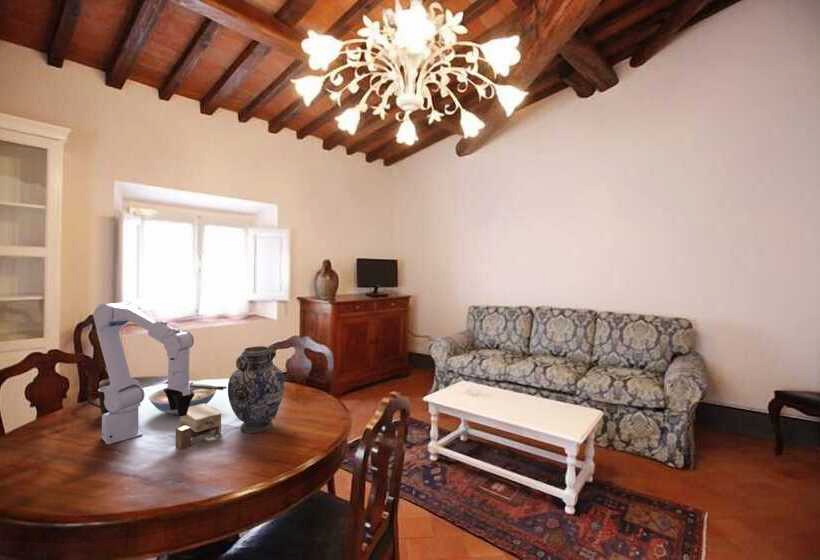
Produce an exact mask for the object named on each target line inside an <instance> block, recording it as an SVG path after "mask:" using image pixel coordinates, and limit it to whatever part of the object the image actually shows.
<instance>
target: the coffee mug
mask: <svg viewBox="0 0 820 560" xmlns="http://www.w3.org/2000/svg"><path fill="white" fill-rule="evenodd" d="M108 386H109V385H106V386H102V387H100V388H98V389H97V392H90V393H88V394H87V395H86V401H87V402H88V403H89V404H90V405H92V406H94V407H96V408H99V409H100V413H101V416H102V415H103V414H105V413H108V412H109V411H108V410H107V409H106V407H105V405H104V400H105V395H104V391H105V389H106V388H107V387H108ZM123 389H126V388H125V387H124V388H121V389H120V390H123ZM120 390H119V391H120ZM92 395H96V396H97V397H98V399H99V404H96V403H94V402H92V401H91V400H90V399H89V397H90V396H92Z"/></svg>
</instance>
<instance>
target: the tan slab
mask: <svg viewBox="0 0 820 560" xmlns="http://www.w3.org/2000/svg"><path fill="white" fill-rule="evenodd" d="M183 426H188V427H191V431H193V432H194V433H198V432H201V431H205V430H208V429H210V430H212V429H216V434H218V435H221V434H222V412H220V411H218V410H217V409H215V408H213V407H212V406H210V405H208V403H207V404H205V403H204V404H199V405H195V406H191V407H189V408H188V412H187V415H185V416H181V417H179V428H180V427H183Z"/></svg>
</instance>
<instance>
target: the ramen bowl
mask: <svg viewBox="0 0 820 560" xmlns="http://www.w3.org/2000/svg"><path fill="white" fill-rule="evenodd" d="M189 388H190V393H191V392H193V393H194V397H193V398H192V400H191V402H190V405H189V407H191V406H195V405H199V404H204V403H205V404H207V405H208V403H210V401H211V400H212V399H213V398H214V396H215V395H216V392H217V390H218V391H224V390H225V389H227V386H215V385H212V384H211V385H210V384H205V383H203V384H202V383H193V384H191V385H190V387H189ZM163 389H164V388H163ZM163 389H159V390H157V391H155V392H153V393H151V394H150V395H149V396H148V400H149V402H150V403H151V404H152V405H153V406H154V407H155V408H156V409H157V410H158V411H160V412H163V413H166V414H173V415H176V416H178V411H177V409H175V410H171V409H170V406H169V402H168V398H167V396H166V394H165V392H164V390H163Z"/></svg>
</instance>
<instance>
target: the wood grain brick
mask: <svg viewBox="0 0 820 560" xmlns="http://www.w3.org/2000/svg"><path fill="white" fill-rule="evenodd" d="M191 431H192V429H191V427H188V426H183V427H180V426H179V427H177V428H175V449H177V450H180V451H184V450H185V449H187V448H190V447H191V446H192V445H194V444H196V443H198V442H199V443H200V441H203V440H205V436H207V435H209V434H217V433H216V429H212V430H211V429H210V430H207V431H205V432H203V433H201V434H198V435H196V436H193V437H191V436H192V434H191V433H192V432H191Z"/></svg>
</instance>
